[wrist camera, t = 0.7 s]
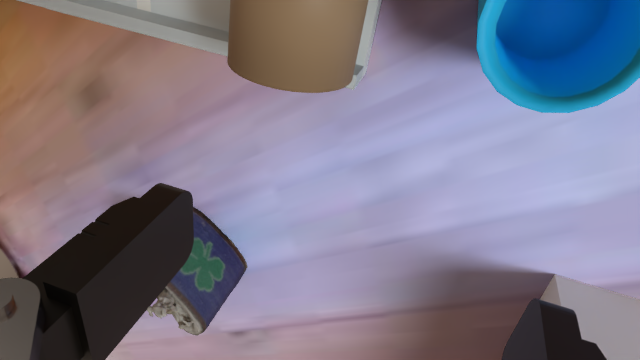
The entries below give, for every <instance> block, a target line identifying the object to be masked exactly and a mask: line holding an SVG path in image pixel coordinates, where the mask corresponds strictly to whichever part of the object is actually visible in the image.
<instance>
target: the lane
mask: <svg viewBox="0 0 640 360" xmlns="http://www.w3.org/2000/svg"><path fill="white" fill-rule="evenodd" d="M18 1H21V2H25V3H29V4H33V5H37V6H40V7H44V8H46V9H50V10H54V11H57V12H61V13H65V14H69V15H73V16H76V17H80V18H84V19H88V20H92V21H95V22H99V23H103V24H107V25H110V26H114V27H118V28H122V29H126V30H129V31H133V32H137V33H141V34H145V35H148V36H152V37H156V38H160V39H164V40H167V41H171V42H175V43H179V44H183V45H186V46H190V47H194V48H198V49H201V50H205V51H209V52H213V53H217V54H220V55H224V56H228V65H229V67H230V68H231V69H232V70H233V71H234V72H235V73H236V74H238V75H239V76H241V77H243V78H245V79H247V80H249V81H252V82H254V83H257V84H260V85H263V86H266V87H270V88H275V89H280V90H285V91H292V92H304V93H320V92H329V91H335V90H339V89H341V88H344V87H345V88H349V89H353V90H354V89H355V88H356V86H357V85H358V84H359V82H360V81H361V79H362V78H363V77H364V75H365V74H366V70H367V66H368V61H369V57H370V52H371V48H372V43H373V38H374V34H375V29H376V25H377V20H378V16H379V11H380V6H381V2H382V0H18Z"/></svg>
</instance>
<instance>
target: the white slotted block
mask: <svg viewBox="0 0 640 360" xmlns="http://www.w3.org/2000/svg"><path fill="white" fill-rule="evenodd" d="M540 300H543V301H546V302H549V303H553V304H556V305H559V306H562V307H566V308H569V309H572V310H574V312H575V313H576V316H577V320H578V324H579V329H580V333H581V338H582V339H583V340H586V341H590V342H593V343H596V344H597V346H598V347H599V349H600V350H601V352H602V353H603V355H604V356H605V358H606V359H607V360H640V300H639V299H636V298H633V297H629V296H626V295H623V294H619V293H616V292H613V291H609V290H606V289H603V288H600V287H596V286H593V285H590V284H586V283H583V282H580V281H577V280H573V279H570V278H567V277H563V276H560V275H557V274H554V276H553V278H552V280H551V281H550V283H549V285H548V286H547V288H546V290H545V291H544V293H543V295H542V296H541V298H540Z"/></svg>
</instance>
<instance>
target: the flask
mask: <svg viewBox="0 0 640 360" xmlns="http://www.w3.org/2000/svg"><path fill="white" fill-rule="evenodd" d="M193 226H194V243H193V248H192V251H191V254H190V256H189V258H188V260H187V261H186V263H185V264H184V265H183V267H182V268H181V269H180V270H179V271H178V273H177V274H176V275H175V276H174V277H173V279H172V280H171V281H170V282H169V283H168V285H167V286H166V287H165V288H164V289H163V291H162V292H161V293H160V294H159V295H158V297H157V299H158V301H157V302H156V304H154V305H153V307H151V306H149V307H148V309H147V311H148V312H149V315H150V316H153V314H152V312H154V313H155V315H156V316H157V317H160V318H162V317H165V316H166V315H167V314H172V315H173V316H174V318H175V319H176V321H177V322H178V324H179V328H180V329H184V330H185V331H186V332H188V333H191V334H193V335H199V334H201V333H203V332H204V331H205V330H206V328H207V327H208V326H209V324H210V322H211V321H212V319H213V318H214V317H215V315H216V313H217V312H218V311H219V309H220V308H221V306H222V305H223V303H224V302H225V301H226V299H227V297H228V296H229V294H230V293H231V292H232V291H233V289H234V288H235V287H236V285H237V284H238V282H239V280H240V279H241V277H242V275H243V274H244V272H245V270H246V268H247V263H246V261H245V259H244V257H243V256H242V255H241V253H240V252H239V250H238V249H237V247H235V245H234V244H233V243H232V241H231V240H229V239H228V237H227V236H226V235H224V234H223V233H222V231H221V230H220V229H219V228H217V226H216V225H215V224H214V223H212V222H211V221H210V220H209V218H207V217H206V216H205V215H204V214H203V213H201V212H200V211H198V210H197V209H196V208H194V207H193Z"/></svg>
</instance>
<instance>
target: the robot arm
mask: <svg viewBox="0 0 640 360" xmlns="http://www.w3.org/2000/svg"><path fill="white" fill-rule="evenodd" d="M193 243H194V226H193V199H192V195H191V193H190V192H189V191H186V190H182V189H179V188H176V187H173V186H169V185H166V184H163V183H159V184H156V185H155V186H154V187H152V188H151V189H150V190H149V191H148V192H147V193H145V194H144V195H143V196H142V197H141V198H136V197H132V198H130V199H127V200H125V201H122V202H120V203H118V204H115V205H113V206H111V207H110V208H109V209H108V210H106V211H105V212H104V213H103V214H101V215H100V216H99V217H98V218H97V219H96V220H95V222H92V223H90V224H89V225H88V226H87V227H85V228H84V229H83V230H82V232H81V234H79V233H78V234H77V235H76V236H74V237H73V238H72V239H71V240H69V241H68V242H67V243H66V244H65V245H63V246H62V247H61V248H60V249H58V250H57V251H56V252H55V253H53V254H52V255H51V256H50V257H49V258H47V259H46V260H45V261H44V262H42V263H41V264H40V265H39V266H37V267H36V268H35V269H34V270H32V271H31V272H30V273H29V274H28V275H26V276H25V277H23V278H22V279H21V278H3V279H0V360H105V359H106V358H107V357H108V355H109V354H110V353H111V352H112V351H113V349H114V348H115V347H116V346H117V345H118V343H119V342H120V341H121V340H122V339H123V337H124V336H125V335H126V334H127V333H128V331H129V330H130V329H131V328H132V327H133V325H134V324H135V323H136V322H137V321H138V319H139V318H140V317H141V316H142V315H143V313H144V312H145V311H146V310H147V309H148V307H149V306H150V305H151V304H152V303H153V301H154V300H155V299H156V298H157V297H158V295H159V294H160V293H161V292H162V291H163V289H164V288H165V287H166V286H167V285H168V283H169V282H170V281H171V280H172V279H173V277H174V276H175V275H176V274H177V273H178V271H179V270H180V269H181V268H182V267H183V265H184V264H185V263H186V261H187V260H188V258H189V256H190V254H191V251H192V248H193ZM502 360H607V359H606V358H605V356H604V355H603V353H602V352H601V350H600V349H599V347H598V346H597V344H596V343H593V342H590V341H586V340H583V339H582V338H581V333H580V329H579V324H578V320H577V316H576V313H575V312H574V310H572V309H569V308H566V307H562V306H559V305H556V304H553V303H549V302H546V301H543V300H539V299H536V298H535V299H533V300H532V301H531V302H530V303H529V305H528V306H527V308H526V310H525V312H524V314H523V315H522V317H521V319H520V321H519V322H518V324H517V326H516V328H515V329H514V331H513V333H512V335H511V337H510V338H509V340H508V342H507V344H506V346H505V349H504V353H503V357H502Z"/></svg>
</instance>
